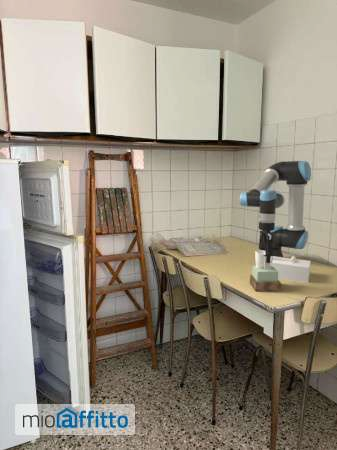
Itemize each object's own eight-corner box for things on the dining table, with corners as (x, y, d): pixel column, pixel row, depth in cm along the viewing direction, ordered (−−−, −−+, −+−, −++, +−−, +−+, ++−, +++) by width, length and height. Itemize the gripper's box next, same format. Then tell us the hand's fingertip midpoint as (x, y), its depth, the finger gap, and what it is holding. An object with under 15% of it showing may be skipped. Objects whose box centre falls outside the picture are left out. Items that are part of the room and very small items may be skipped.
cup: (250, 264, 159) (252, 249, 157) (267, 264, 161) (270, 249, 159) (256, 270, 152) (259, 254, 150) (274, 269, 155) (277, 254, 153)
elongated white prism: (307, 283, 162) (309, 263, 161) (259, 276, 174) (260, 257, 172) (309, 275, 175) (310, 256, 173) (264, 269, 186) (265, 251, 185)
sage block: (271, 275, 160) (272, 266, 159) (277, 281, 150) (278, 272, 149) (252, 275, 160) (252, 265, 160) (257, 281, 150) (257, 271, 150)
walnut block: (272, 284, 162) (273, 274, 161) (280, 292, 150) (280, 282, 149) (249, 283, 162) (250, 274, 161) (255, 292, 150) (255, 282, 149)
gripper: (253, 218, 162) (251, 260, 165) (265, 225, 141) (262, 272, 144) (268, 218, 162) (265, 260, 165) (281, 225, 141) (278, 272, 144)
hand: (264, 266), depth 155 cm, fingers open, 8 cm apart
